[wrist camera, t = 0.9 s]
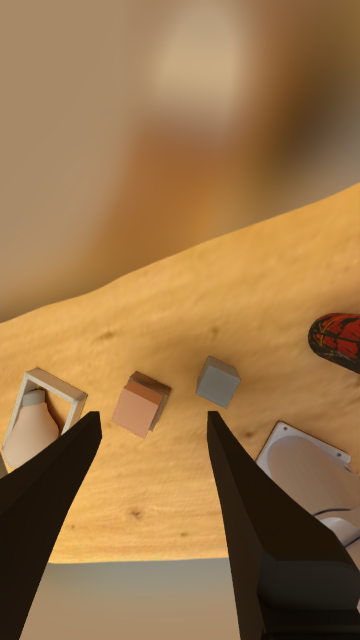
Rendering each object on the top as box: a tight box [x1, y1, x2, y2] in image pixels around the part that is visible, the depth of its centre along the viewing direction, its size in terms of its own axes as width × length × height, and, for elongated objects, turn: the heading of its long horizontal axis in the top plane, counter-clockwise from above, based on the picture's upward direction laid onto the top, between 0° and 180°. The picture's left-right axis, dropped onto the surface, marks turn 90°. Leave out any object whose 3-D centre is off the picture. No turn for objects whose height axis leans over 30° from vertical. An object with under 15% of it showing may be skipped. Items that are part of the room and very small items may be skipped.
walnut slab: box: [127, 371, 171, 431], centre depth 25 cm, size 6×6×2 cm
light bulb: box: [3, 389, 59, 468], centre depth 27 cm, size 7×7×11 cm
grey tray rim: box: [2, 368, 87, 450], centre depth 28 cm, size 10×15×2 cm
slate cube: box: [196, 356, 241, 408], centre depth 22 cm, size 4×4×4 cm
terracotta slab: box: [111, 380, 164, 439], centre depth 23 cm, size 5×5×2 cm
